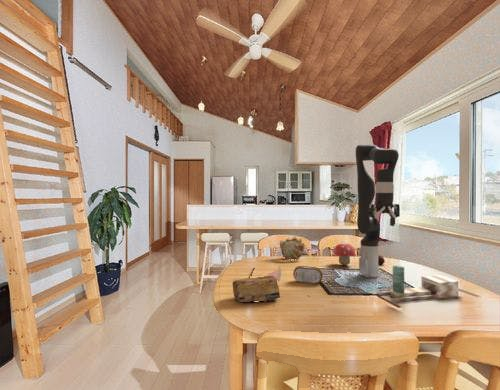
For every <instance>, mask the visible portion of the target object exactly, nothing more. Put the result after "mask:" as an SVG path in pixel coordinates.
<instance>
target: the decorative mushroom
mask: <svg viewBox="0 0 500 390" xmlns="http://www.w3.org/2000/svg"><path fill="white" fill-rule="evenodd" d="M333 254H334V255H336V256H338V263H339V264H340V265H342V266H345V267H346V266H348V265H349V264H351V259H350V258H351V257H353V256H355V255H356V250H355V248H354V247H353V246H352V245H351V244H349V243H348V242H339V243H338V244H336V246H335V247H334V248H333Z"/></svg>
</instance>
